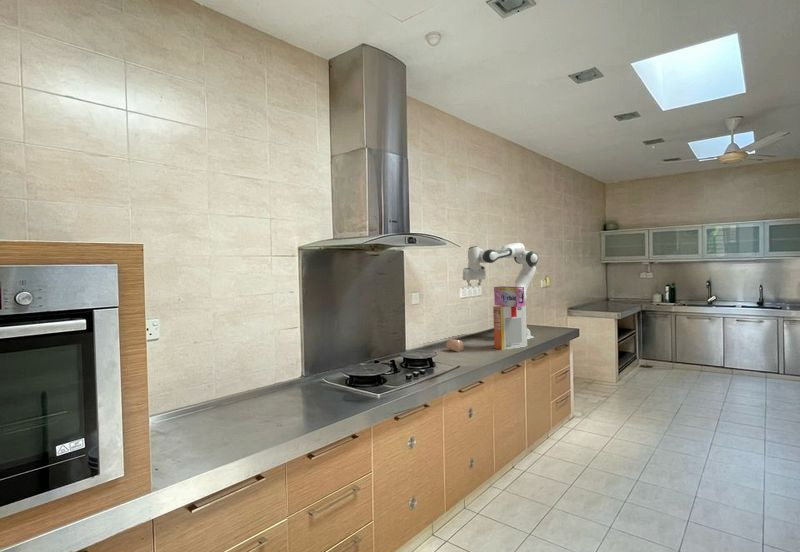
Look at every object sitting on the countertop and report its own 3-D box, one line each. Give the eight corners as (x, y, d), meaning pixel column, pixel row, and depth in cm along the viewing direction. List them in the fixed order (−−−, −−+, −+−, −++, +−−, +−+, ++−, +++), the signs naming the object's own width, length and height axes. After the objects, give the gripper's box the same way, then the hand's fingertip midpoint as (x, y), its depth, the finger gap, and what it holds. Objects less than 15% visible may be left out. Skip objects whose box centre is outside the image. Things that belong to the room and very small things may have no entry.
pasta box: (519, 345, 316) (518, 304, 315) (527, 346, 309) (526, 305, 308) (494, 348, 306) (493, 306, 305) (501, 350, 299) (500, 307, 298)
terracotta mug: (444, 347, 302) (453, 348, 294) (448, 337, 304) (458, 338, 297) (453, 353, 307) (462, 355, 300) (457, 343, 309) (466, 344, 302)
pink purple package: (526, 306, 298) (526, 286, 298) (518, 307, 294) (517, 287, 294) (502, 304, 318) (501, 286, 318) (494, 305, 314) (493, 286, 314)
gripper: (465, 267, 317) (466, 286, 318) (486, 267, 328) (487, 285, 328) (460, 267, 323) (461, 286, 323) (481, 267, 333) (481, 285, 334)
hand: (474, 285), depth 326 cm, fingers open, 8 cm apart
